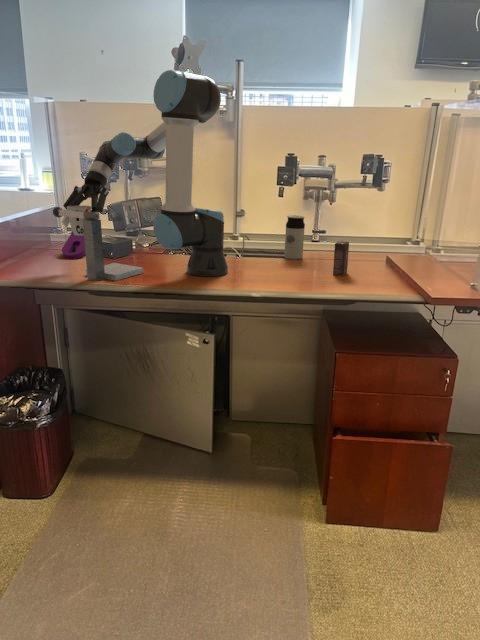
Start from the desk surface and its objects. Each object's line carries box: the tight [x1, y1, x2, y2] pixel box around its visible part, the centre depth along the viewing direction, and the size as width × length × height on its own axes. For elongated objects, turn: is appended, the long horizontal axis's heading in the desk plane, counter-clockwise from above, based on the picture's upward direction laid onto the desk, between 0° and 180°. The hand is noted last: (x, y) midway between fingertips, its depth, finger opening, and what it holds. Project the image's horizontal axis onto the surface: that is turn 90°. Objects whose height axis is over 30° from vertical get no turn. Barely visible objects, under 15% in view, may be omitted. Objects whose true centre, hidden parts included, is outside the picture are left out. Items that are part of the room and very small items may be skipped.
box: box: [332, 240, 350, 277], centre depth 173 cm, size 6×4×12 cm
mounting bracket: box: [61, 230, 86, 260], centre depth 197 cm, size 9×8×18 cm
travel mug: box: [283, 214, 306, 261], centre depth 199 cm, size 8×8×18 cm
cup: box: [67, 205, 92, 236], centre depth 167 cm, size 8×8×10 cm
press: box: [83, 219, 144, 282], centre depth 161 cm, size 14×18×20 cm
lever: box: [52, 206, 101, 220], centre depth 155 cm, size 20×5×4 cm, turn 60°
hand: (74, 225), depth 165 cm, fingers closed on cup, 8 cm apart
